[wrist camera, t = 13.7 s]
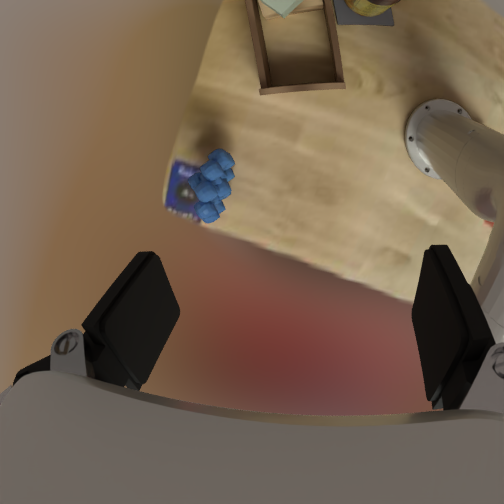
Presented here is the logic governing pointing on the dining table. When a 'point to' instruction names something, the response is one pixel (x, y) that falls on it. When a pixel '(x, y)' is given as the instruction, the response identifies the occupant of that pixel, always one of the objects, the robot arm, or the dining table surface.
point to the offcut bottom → (309, 3)
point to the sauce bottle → (370, 6)
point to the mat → (351, 18)
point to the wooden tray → (263, 60)
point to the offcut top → (282, 6)
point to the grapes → (212, 185)
